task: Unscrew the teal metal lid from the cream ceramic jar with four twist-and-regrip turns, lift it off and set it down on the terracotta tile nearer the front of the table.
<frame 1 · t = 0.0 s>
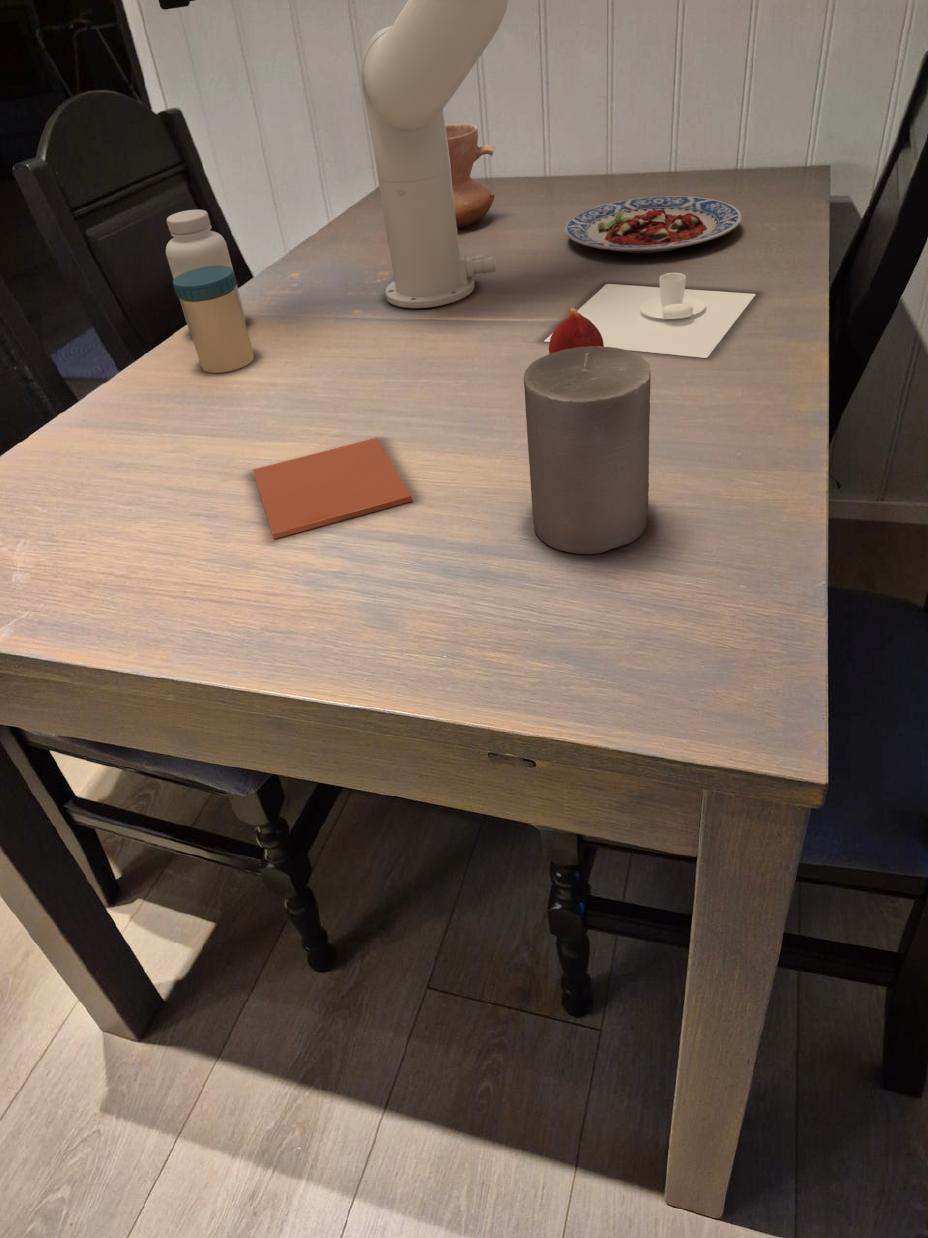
hand: (180, 4, 101), 37 cm above the table, tool pointing down, fingers open, 9 cm apart
onion: (577, 382, 98), on the table
ceramic plate: (651, 236, 134), on the table
ceramic jug: (447, 225, 151), on the table
teacup and saucer: (651, 318, 109), on the table
lid: (203, 278, 107), point 10 cm above the table, screwed on, not yet turned
jar: (228, 361, 114), on the table
pill bottle: (219, 329, 124), on the table
tile: (329, 487, 85), on the table
pillar candle: (590, 525, 76), on the table
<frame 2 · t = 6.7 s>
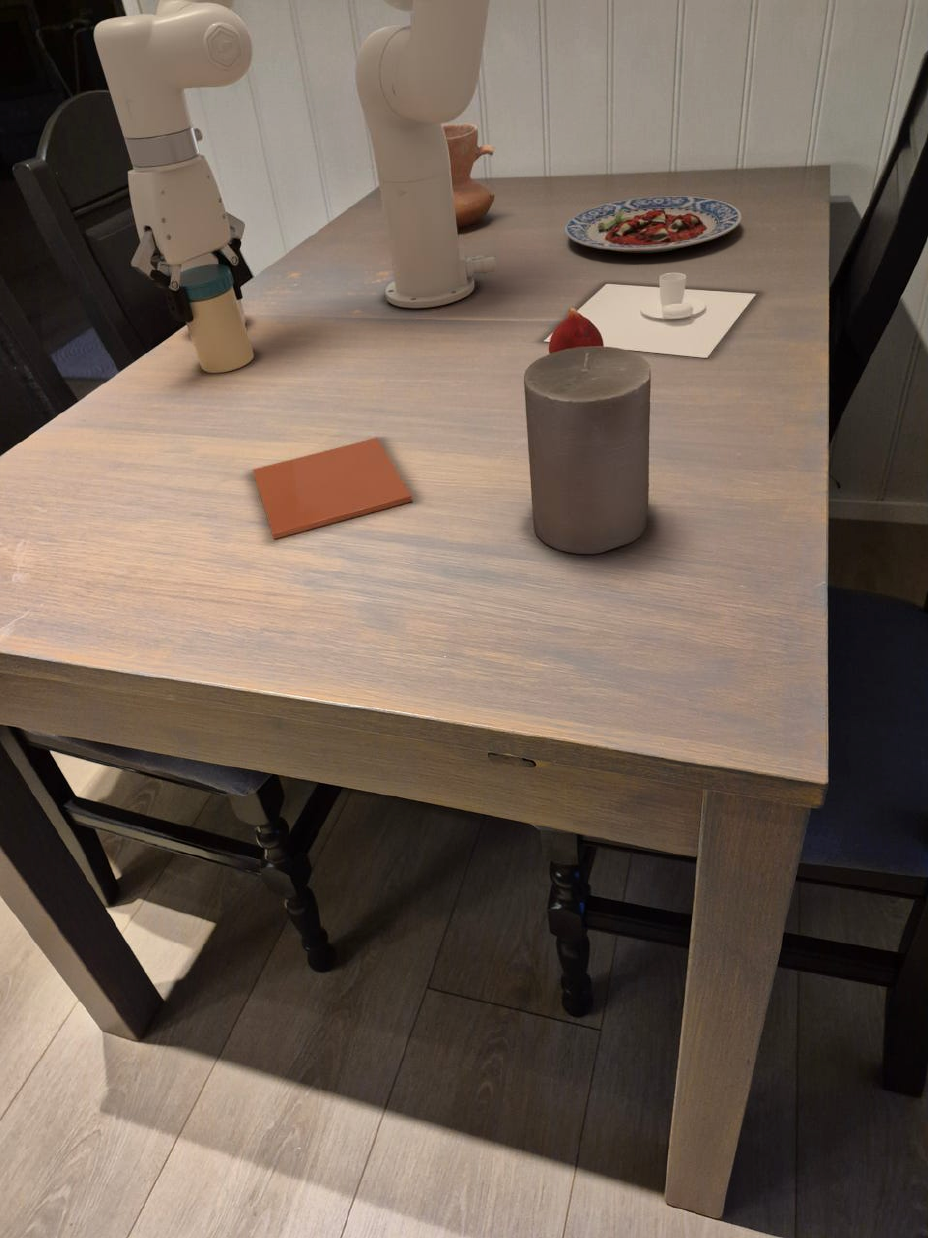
hand: (208, 307, 109), 7 cm above the table, tool pointing down, fingers closed on lid, 7 cm apart
lid: (200, 277, 107), point 11 cm above the table, turned 90° so far, risen 0.1 cm, still on its thread, touching gripper
jar: (227, 360, 113), on the table, touching gripper
everything else where it was.
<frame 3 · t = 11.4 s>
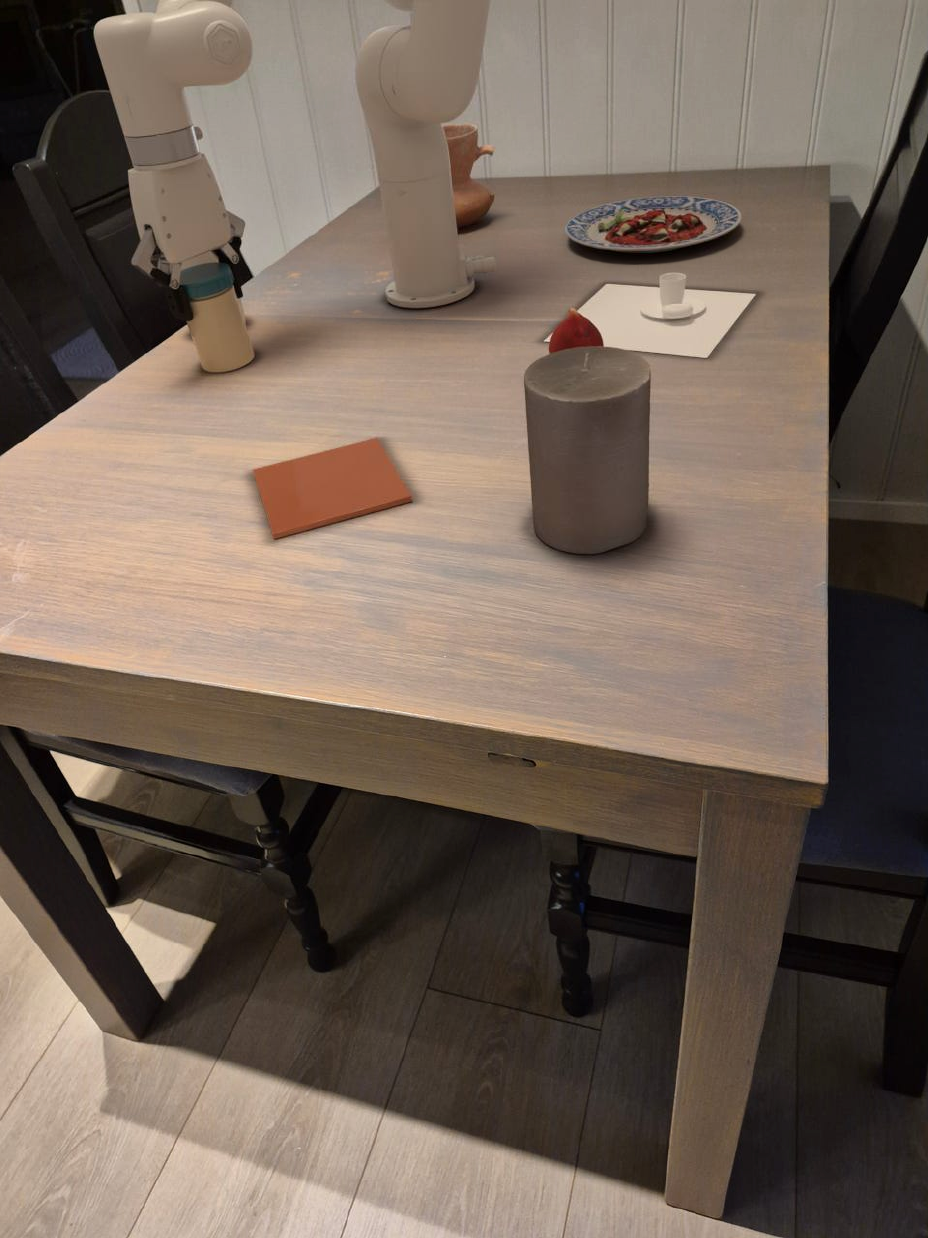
hand: (209, 306, 109), 7 cm above the table, tool pointing down, fingers closed on lid, 7 cm apart
lid: (201, 276, 107), point 11 cm above the table, turned 179° so far, risen 0.3 cm, still on its thread, touching gripper
jar: (228, 360, 114), on the table
everything else where it was.
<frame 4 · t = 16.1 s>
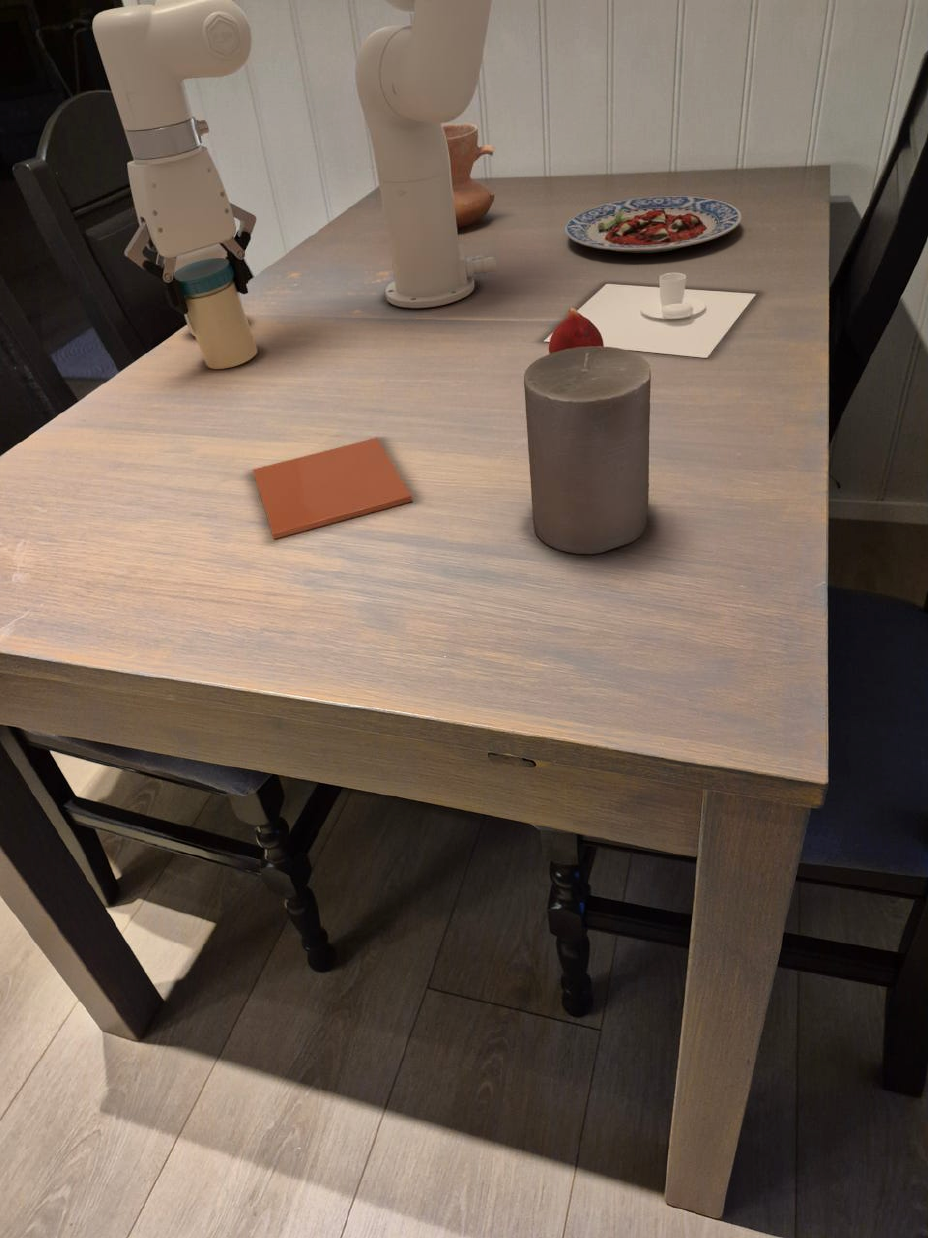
hand: (211, 300, 109), 8 cm above the table, tool pointing down, fingers closed on lid, 7 cm apart
lid: (201, 272, 107), point 11 cm above the table, turned 244° so far, risen 0.4 cm, still on its thread, touching gripper
jar: (231, 356, 114), on the table, touching gripper
everything else where it was.
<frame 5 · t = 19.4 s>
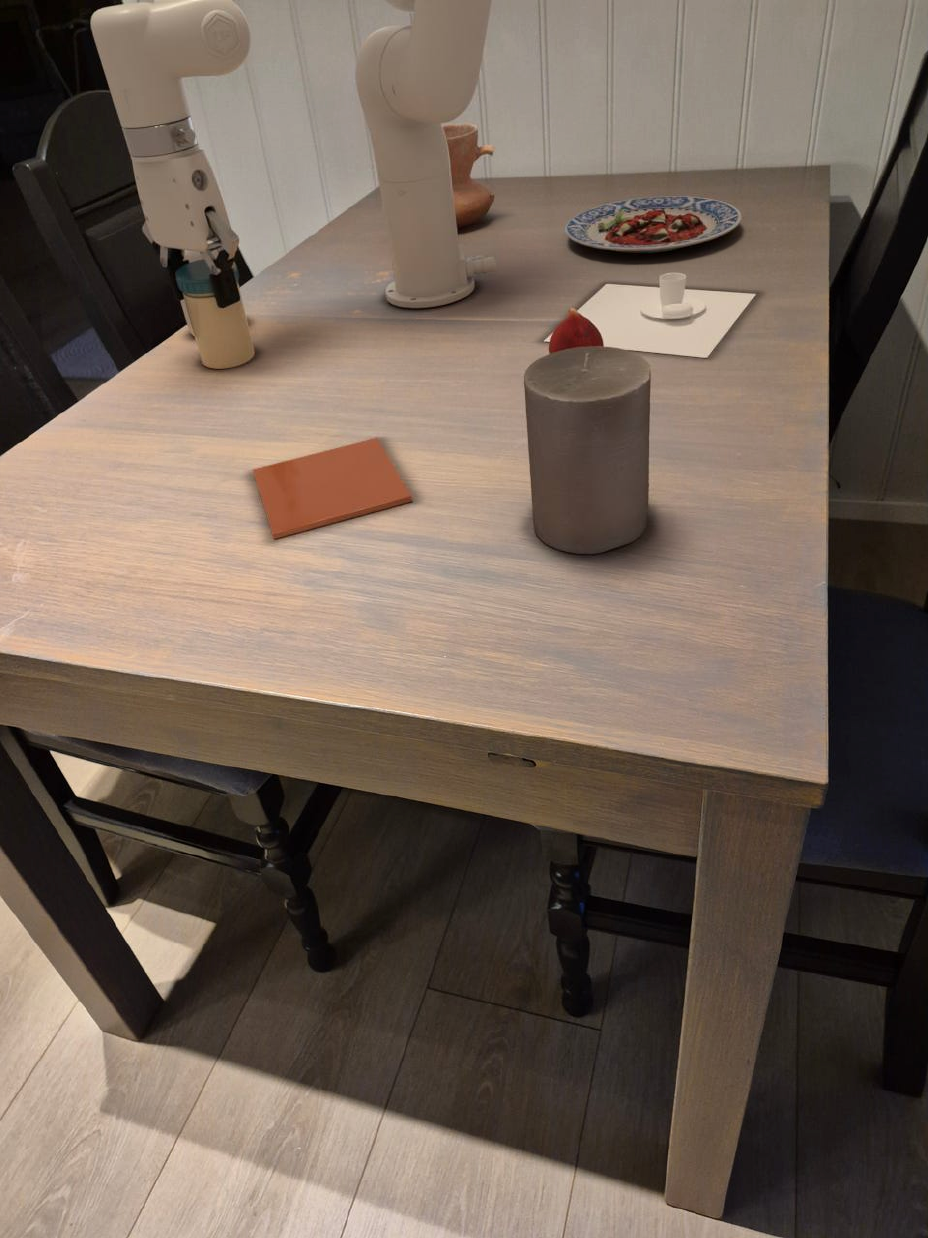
hand: (207, 299, 108), 8 cm above the table, tool pointing down, fingers closed on lid, 7 cm apart
lid: (206, 271, 107), point 11 cm above the table, turned 249° so far, risen 0.4 cm, still on its thread, touching gripper
everything else where it was.
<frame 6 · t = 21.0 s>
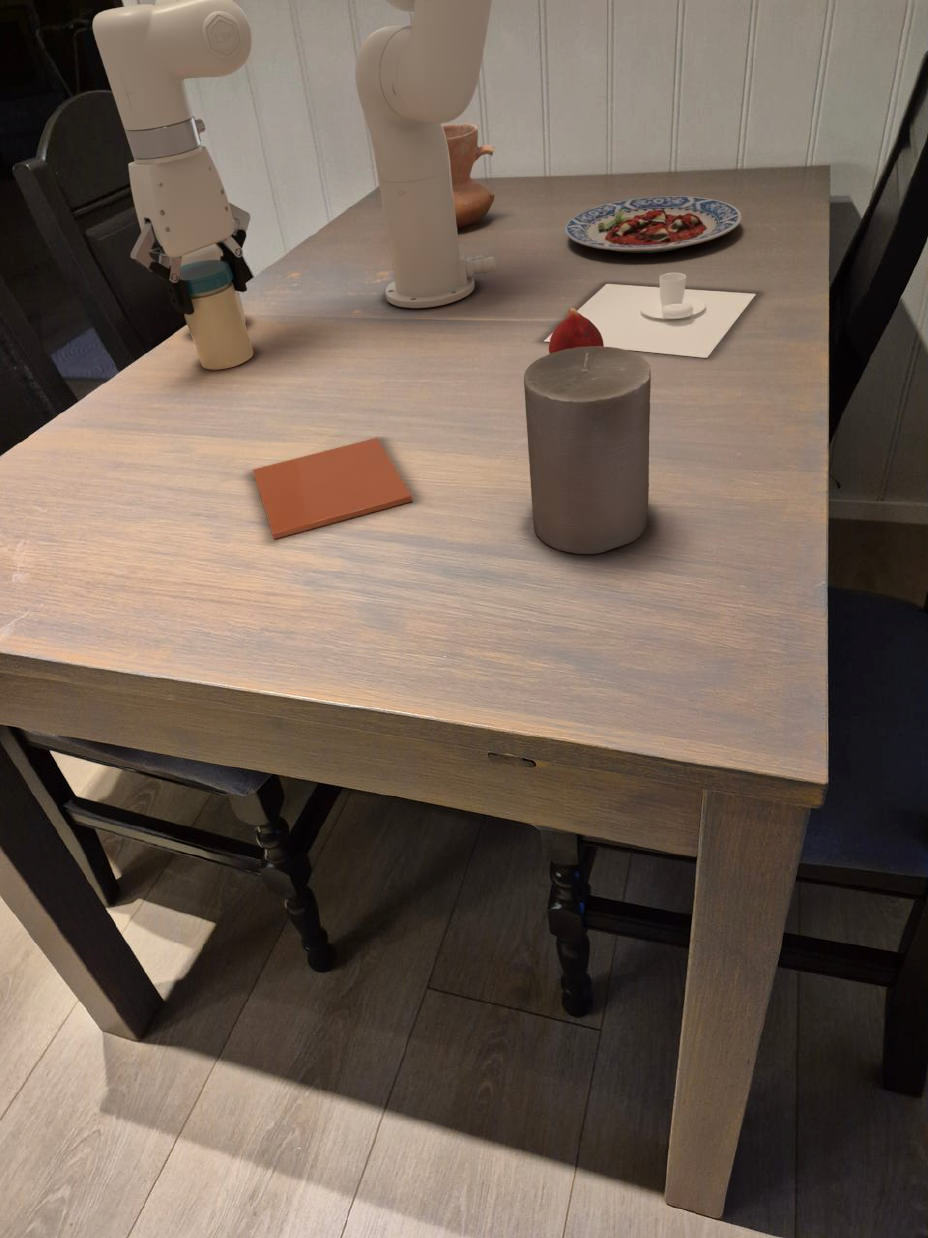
hand: (212, 300, 109), 8 cm above the table, tool pointing down, fingers closed on lid, 7 cm apart
lid: (199, 272, 107), point 11 cm above the table, off its thread, touching gripper
everything else where it was.
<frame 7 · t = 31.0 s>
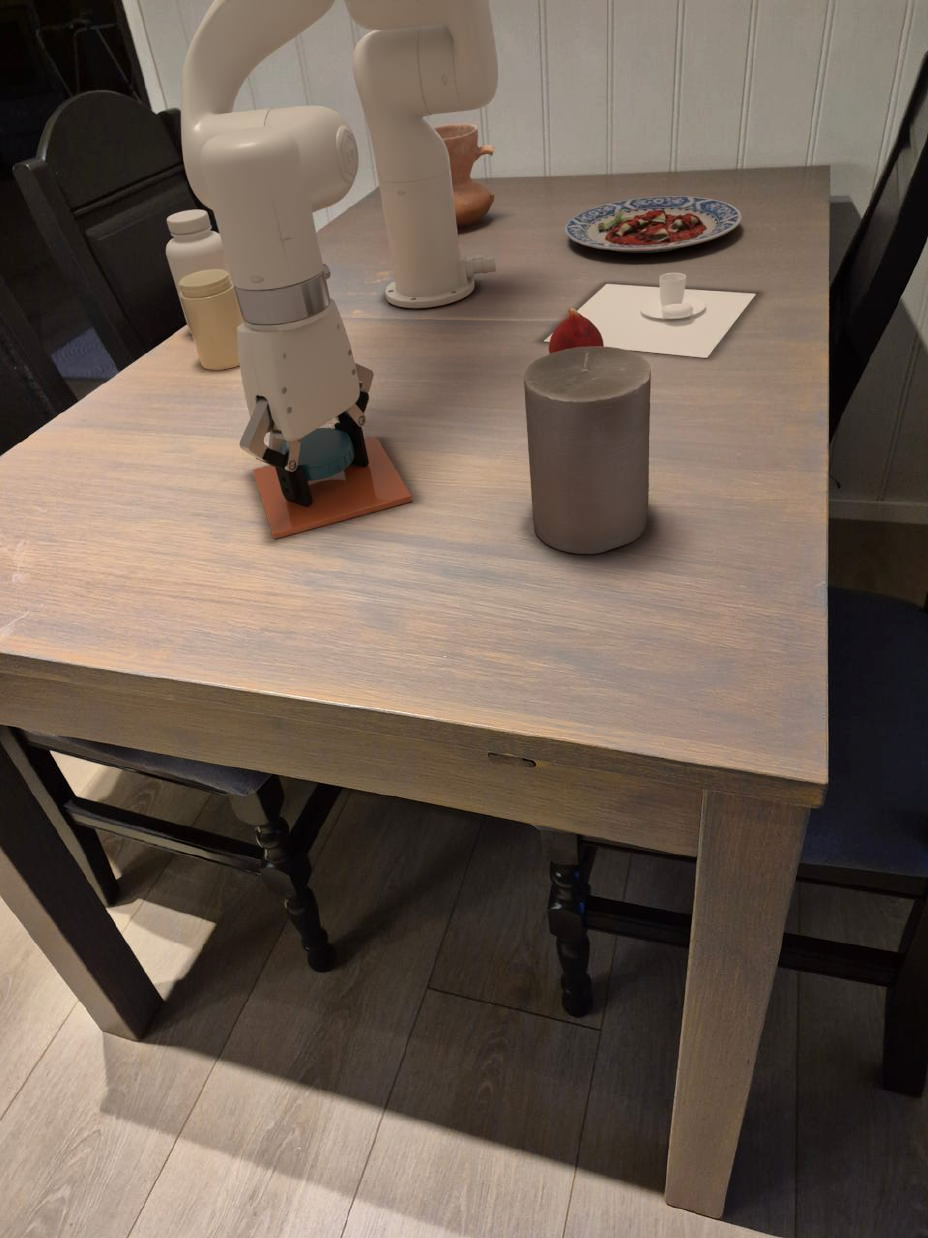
hand: (327, 481, 85), 1 cm above the table, tool pointing down, fingers closed on lid, 7 cm apart
lid: (313, 449, 83), point 4 cm above the table, off its thread, touching gripper
jar: (227, 358, 114), on the table
everything else where it was.
when the fingers open (1 cm above the table, at t = 37.6 s): lid drops 2 cm, resting on tile.
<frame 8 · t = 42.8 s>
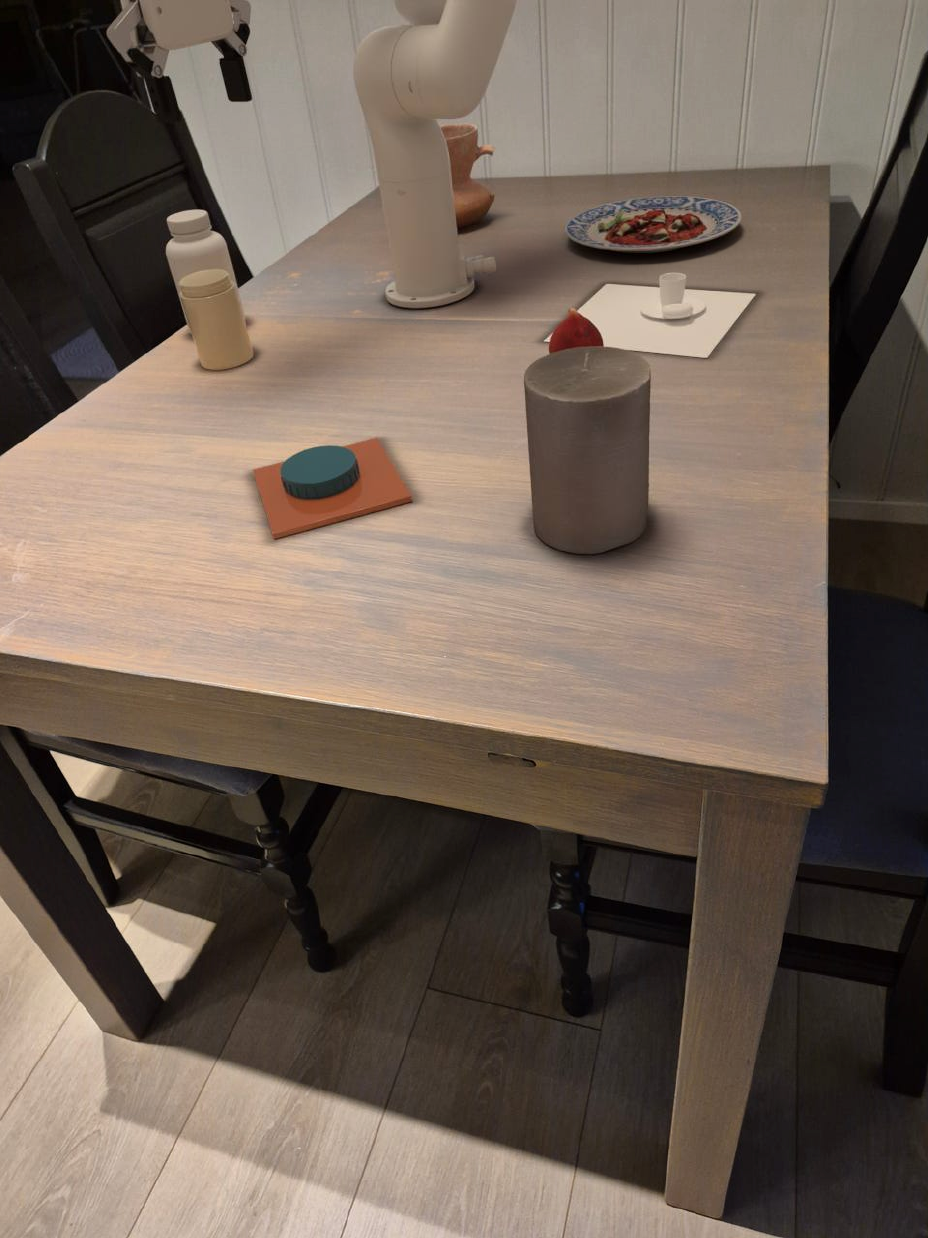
hand: (206, 111, 92), 28 cm above the table, tool pointing down, fingers open, 9 cm apart
lid: (318, 467, 85), point 2 cm above the table, off its thread, touching tile
everything else where it was.
at the end: lid inside the target area on the tile (1.0 cm from its centre), point 1.9 cm above the tile's base; lid point 1.9 cm above the table; the gripper is holding nothing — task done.
